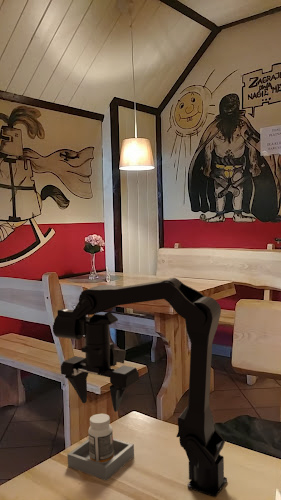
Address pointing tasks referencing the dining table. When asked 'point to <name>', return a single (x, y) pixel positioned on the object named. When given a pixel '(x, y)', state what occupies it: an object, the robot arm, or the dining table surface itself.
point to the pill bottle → (100, 439)
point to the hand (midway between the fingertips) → (100, 406)
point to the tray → (82, 462)
